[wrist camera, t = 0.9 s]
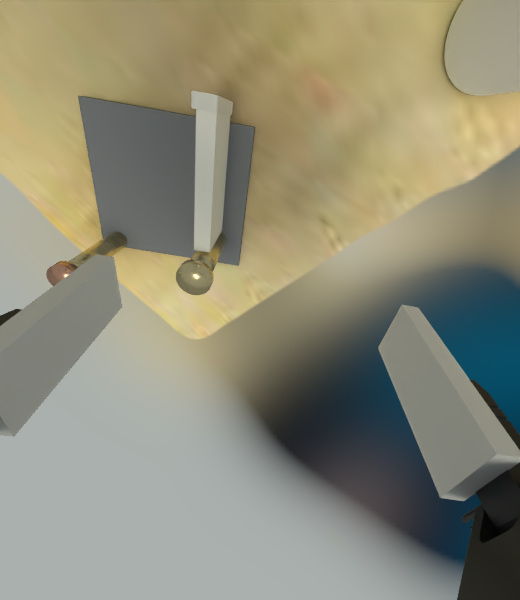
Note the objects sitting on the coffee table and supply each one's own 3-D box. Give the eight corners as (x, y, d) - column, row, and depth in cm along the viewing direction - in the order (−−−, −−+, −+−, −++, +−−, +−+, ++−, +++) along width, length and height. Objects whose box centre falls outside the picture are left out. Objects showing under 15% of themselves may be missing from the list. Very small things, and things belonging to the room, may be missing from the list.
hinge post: (204, 222, 32) (175, 260, 23) (231, 226, 32) (212, 266, 23) (203, 247, 34) (176, 291, 25) (229, 251, 34) (210, 297, 25)
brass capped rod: (108, 225, 33) (42, 263, 24) (131, 228, 33) (74, 268, 24) (111, 246, 35) (51, 290, 26) (133, 249, 35) (81, 294, 26)
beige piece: (223, 230, 31) (209, 255, 25) (207, 227, 31) (190, 252, 25) (233, 102, 25) (217, 95, 19) (213, 98, 25) (191, 90, 19)
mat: (82, 96, 26) (78, 95, 26) (255, 127, 27) (254, 127, 26) (106, 241, 35) (104, 243, 34) (238, 263, 35) (238, 265, 35)
